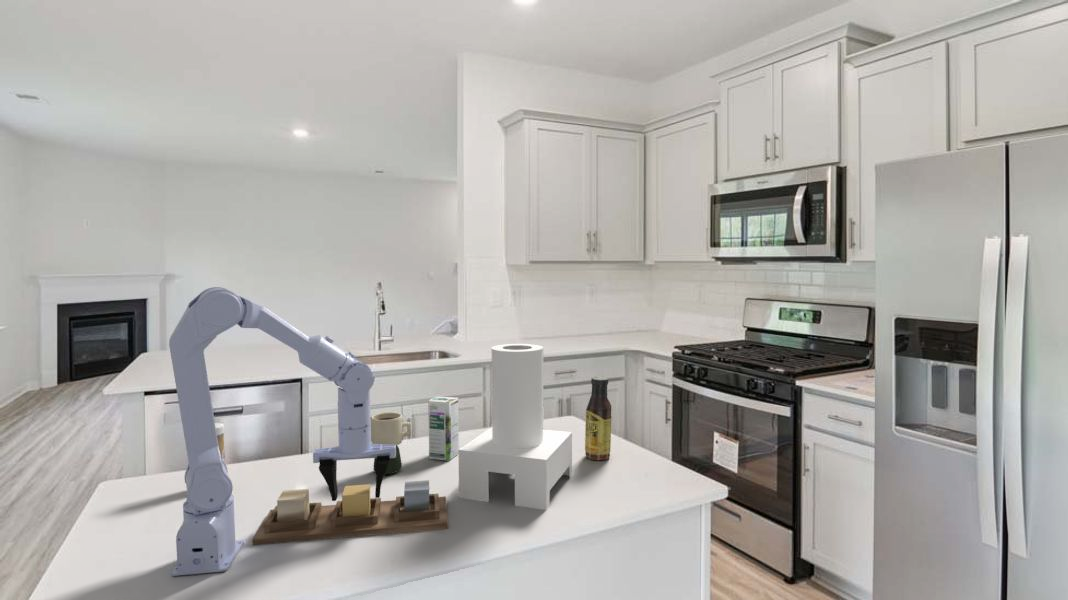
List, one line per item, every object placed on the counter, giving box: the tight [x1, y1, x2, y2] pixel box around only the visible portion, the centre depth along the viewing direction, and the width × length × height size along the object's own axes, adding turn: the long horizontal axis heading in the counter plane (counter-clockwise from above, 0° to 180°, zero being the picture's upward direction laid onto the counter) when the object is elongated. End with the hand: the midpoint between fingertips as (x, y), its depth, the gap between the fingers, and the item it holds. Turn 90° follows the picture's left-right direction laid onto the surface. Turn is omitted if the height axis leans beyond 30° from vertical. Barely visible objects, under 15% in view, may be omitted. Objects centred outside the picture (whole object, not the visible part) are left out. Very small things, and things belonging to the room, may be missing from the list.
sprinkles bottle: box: [215, 422, 226, 464], centre depth 125 cm, size 5×5×13 cm
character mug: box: [371, 411, 412, 475], centre depth 133 cm, size 11×7×13 cm, turn 104°
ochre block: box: [341, 483, 371, 517], centre depth 108 cm, size 4×4×5 cm
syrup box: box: [427, 396, 460, 462], centre depth 143 cm, size 6×6×14 cm
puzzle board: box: [251, 479, 449, 546], centre depth 108 cm, size 12×33×6 cm, turn 101°
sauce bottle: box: [584, 375, 612, 462], centre depth 142 cm, size 6×6×20 cm
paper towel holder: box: [458, 343, 573, 511], centre depth 124 cm, size 19×19×30 cm
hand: (356, 497), depth 108 cm, fingers open, 7 cm apart
